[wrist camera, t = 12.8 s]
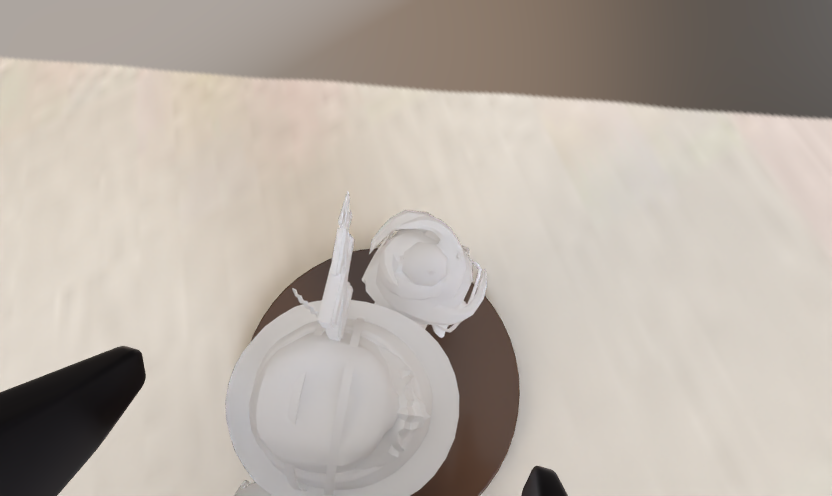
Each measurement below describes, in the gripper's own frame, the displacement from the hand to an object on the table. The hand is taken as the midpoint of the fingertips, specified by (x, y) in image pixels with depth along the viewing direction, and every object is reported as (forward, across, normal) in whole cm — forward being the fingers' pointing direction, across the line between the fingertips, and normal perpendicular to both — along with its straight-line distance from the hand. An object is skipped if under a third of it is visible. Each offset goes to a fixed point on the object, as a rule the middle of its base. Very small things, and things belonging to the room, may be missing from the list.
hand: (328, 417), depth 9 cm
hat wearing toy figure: (+6, -1, +5) cm, 8 cm away
